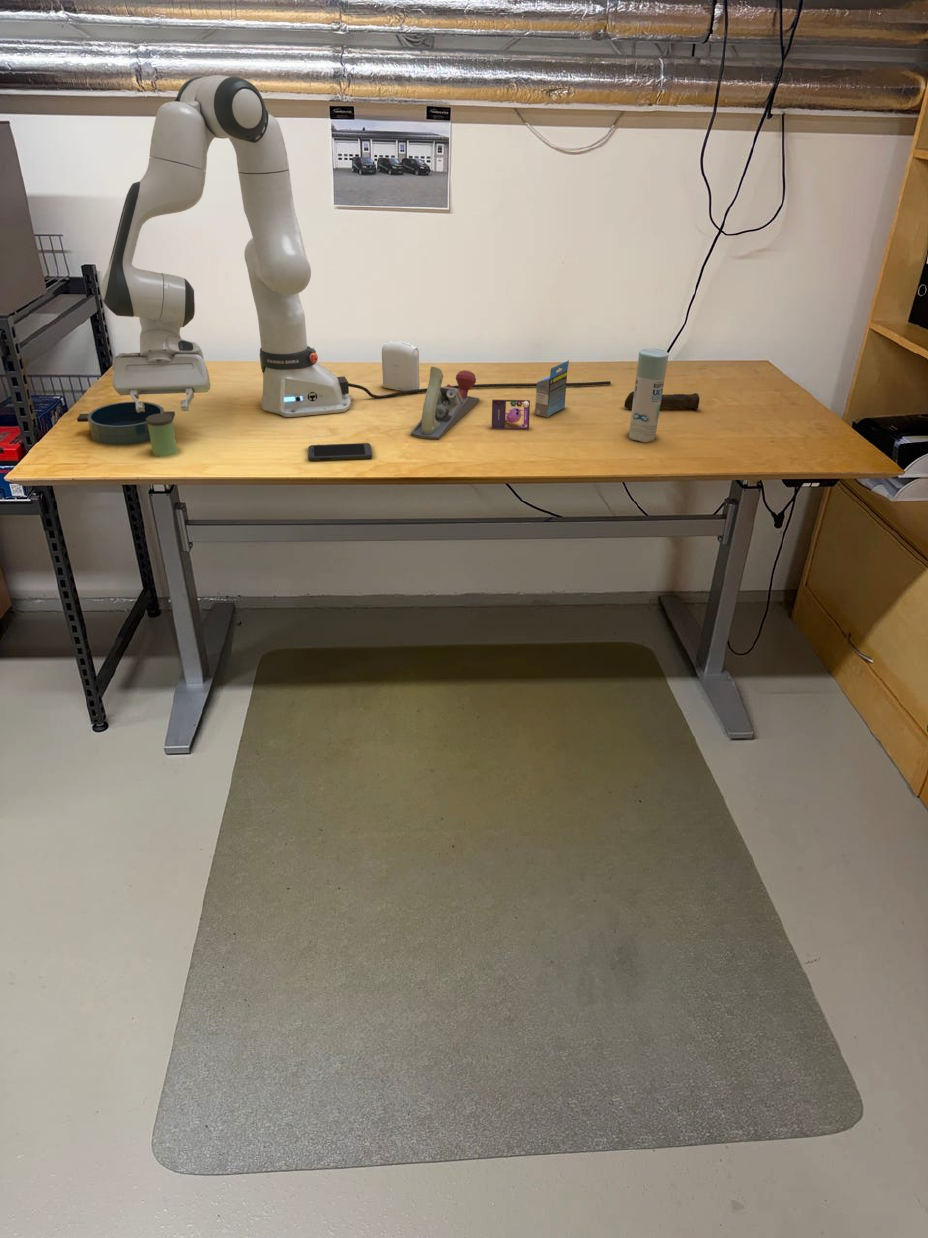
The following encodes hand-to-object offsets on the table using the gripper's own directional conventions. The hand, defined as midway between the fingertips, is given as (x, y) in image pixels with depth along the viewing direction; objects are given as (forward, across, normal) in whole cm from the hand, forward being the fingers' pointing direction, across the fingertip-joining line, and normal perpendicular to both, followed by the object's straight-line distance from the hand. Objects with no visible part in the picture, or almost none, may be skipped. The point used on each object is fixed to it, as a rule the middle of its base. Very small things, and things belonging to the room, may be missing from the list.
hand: (162, 410), depth 187 cm
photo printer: (-19, +55, +32) cm, 66 cm away
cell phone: (+11, +38, +2) cm, 39 cm away
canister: (+8, -1, +4) cm, 9 cm away
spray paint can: (+9, +109, +5) cm, 109 cm away
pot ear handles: (-4, -10, +11) cm, 16 cm away
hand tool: (-4, +120, +18) cm, 121 cm away
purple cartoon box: (+2, +79, +12) cm, 80 cm away
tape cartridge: (-5, +91, +18) cm, 93 cm away
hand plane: (-4, +64, +17) cm, 67 cm away
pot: (-1, -10, +13) cm, 17 cm away
